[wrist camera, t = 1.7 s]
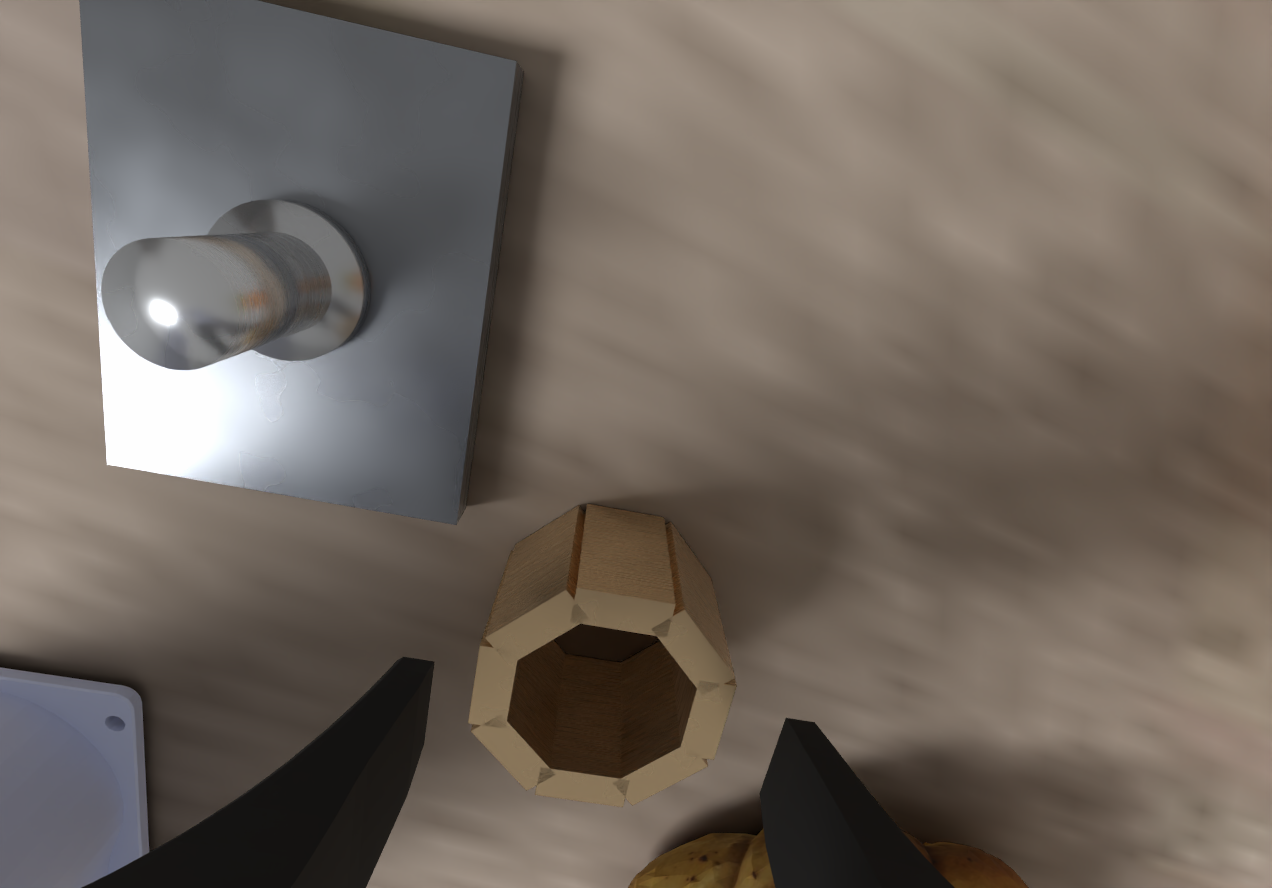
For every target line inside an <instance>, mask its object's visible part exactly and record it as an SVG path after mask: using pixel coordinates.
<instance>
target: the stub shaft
mask: <svg viewBox="0 0 1272 888" xmlns="http://www.w3.org/2000/svg"><path fill="white" fill-rule="evenodd" d="M79 2H80V19H81V35H82V52H83V69H84V85H85V102H86V119H87V135H88V152H89V169H90V185H91V202H92V219H93V236H94V252H95V269H96V286H97V302H98V319H99V336H100V352H101V369H102V386H103V402H104V419H105V436H106V452H107V464H109V465H114V466H120V467H126V468H132V469H137V470H143V471H149V472H155V473H160V474H166V475H172V476H178V477H183V478H189V479H195V480H201V481H206V482H212V483H218V484H224V485H229V486H235V487H241V488H247V489H252V490H258V491H264V492H270V493H275V494H281V495H287V496H293V497H298V498H304V499H310V500H316V501H321V502H327V503H333V504H339V505H344V506H350V507H356V508H362V509H367V510H373V511H379V512H385V513H390V514H396V515H402V516H408V517H413V518H419V519H425V520H431V521H436V522H442V523H448V524H454V525H457V523H458V521H459V519H460V518H461V516H462V514H463V512H464V510H465V508H466V503H467V496H468V488H469V481H470V473H471V466H472V458H473V451H474V443H475V435H476V428H477V420H478V413H479V405H480V398H481V390H482V383H483V375H484V368H485V360H486V353H487V345H488V338H489V330H490V323H491V315H492V308H493V300H494V293H495V285H496V278H497V270H498V263H499V255H500V248H501V240H502V233H503V225H504V218H505V210H506V203H507V195H508V188H509V180H510V173H511V165H512V158H513V150H514V143H515V135H516V128H517V120H518V113H519V105H520V98H521V90H522V83H523V75H524V71H523V70H522V68H521V67H520V65H519V64H518V63H517V61H514V60H509V59H505V58H501V57H497V56H492V55H488V54H484V53H480V52H475V51H471V50H467V49H462V48H458V47H454V46H450V45H445V44H441V43H437V42H433V41H428V40H424V39H420V38H416V37H411V36H407V35H403V34H399V33H394V32H390V31H386V30H381V29H377V28H373V27H369V26H364V25H360V24H356V23H352V22H347V21H343V20H339V19H335V18H330V17H326V16H322V15H317V14H313V13H309V12H305V11H300V10H296V9H292V8H288V7H283V6H279V5H275V4H271V3H266V2H262V1H258V0H79Z"/></svg>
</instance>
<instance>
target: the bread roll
mask: <svg viewBox="0 0 1272 888" xmlns="http://www.w3.org/2000/svg"><path fill="white" fill-rule="evenodd" d="M902 832H903V833H904V834H905V835H906V836H907V838H908V839H909V840H910V841H911V842H912V843H913V844H914V845H915V847H916V848H917V849H918V850H919V851H920V852H921V853H922V854H923V855H924V857H925V858H926V859H927V860H928V861H929V862H930V863H931V864H932V865H933V866H934V867H935V868H936V869H937V870H938V871H939V872H940V874H941V875H942V876H943V877H944V878H946V879H947V880H948V881H949V882H950V883H951V884H952V885H953V886H954V887H955V888H1029V887H1028V886H1027V885H1026V884H1025V883H1024V881H1023V880H1022V879H1021V878H1020V877H1019V876H1018V875H1017V874H1016V872H1015V871H1014V870H1013V869H1011V868H1010V867H1009V866H1008V865H1006V864H1005V863H1004V862H1003V861H1001V860H1000V859H998V858H996V857H994V856H992V855H989V854H987V853H985V852H984V851H982V850H980V849H976V848H973V847H969V846H966V845H961V844H955V843H949V842H937V843H933V844H930V843H926V842H925V843H924V844H922V843H921V842H920V841H919V840H918V839H916V838H915V837H913V836H911V835H910V834H908V833H906V832H904V831H902ZM628 888H775V884H774V880H773V876H772V872H771V867H770V863H769V859H768V854H767V850H766V844H765V836H764V829H762V830H761V831H760V833H759V834H758V835H757V836H756V835H751V834H745V833H711V834H708V835H706V836H703V837H701V838H699V839H696V840H694V841H691V842H689V843H686V844H684V845H681V846H679V847H677V848H675V849H673V850H671V851H669V852H667V853H665V854H662V855H660V856H659V857H658V858H656V859H655V860H653V861H652V862H650V863H649V864H648V865H647V866H646V867H645V868H644V869H643V870H642V871H641V872H640V873H638V874H637V875H636V876H635V878H634V879H633V880H632V882H631V883H630V885H629V887H628Z"/></svg>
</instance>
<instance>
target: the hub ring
mask: <svg viewBox="0 0 1272 888" xmlns="http://www.w3.org/2000/svg"><path fill="white" fill-rule="evenodd" d="M579 624H586V625H592V626H598V627H604V628H610V629H616V630H622V631H628V632H634V633H641V634H647V635H653V636H657V637H658V638H659V640H660V641H659V642H657V643H655V644H653V645H652V646H650V647H648V648H646V649H644V650H643V651H641V652H639V653H637V654H636V655H634V656H632V657H630V658H628V659H627V660H625V661H623V662H621V663H619V662H613V661H607V660H601V659H594V658H588V657H582V656H576V655H569V654H565V653H564V652H563V651H562V649H561V648H560V647H559V646H558V645H557V643H556V642H555V641H554V640H553V639H555V638H557V637H558V636H560V635H562V634H563V633H565V632H567V631H569V630H570V629H572V628H574V627H576V626H577V625H579ZM736 687H737V686H736V682H735V675H734V671H733V667H732V663H731V659H730V655H729V650H728V646H727V642H726V638H725V634H724V630H723V626H722V621H721V617H720V613H719V609H718V605H717V601H716V597H715V592H714V588H713V584H712V580H711V577H710V576H709V575H708V573H707V572H706V570H705V569H704V567H703V566H702V565H701V563H700V562H699V560H698V559H697V558H696V556H695V555H694V553H693V552H692V551H691V549H690V548H689V546H688V545H687V544H686V542H685V541H684V539H683V538H682V537H681V535H680V534H679V532H678V531H677V530H676V528H675V527H674V525H673V524H672V523H671V522H669V523H668V524H666V525H665V522H664V517H659V516H654V515H648V514H643V513H637V512H631V511H626V510H620V509H615V508H609V507H604V506H598V505H592V504H587V507H586V512H585V513H584V511H583V510H582V509H581V507H580V506H579V505H578V506H577V507H575V508H573V509H572V510H570V511H569V512H567V513H565V514H564V515H562V516H560V517H559V518H557V519H556V520H554V521H552V522H551V523H549V524H548V525H546V526H544V527H543V528H541V529H540V530H538V531H536V532H535V533H533V534H531V535H530V536H528V537H527V538H525V539H523V540H522V541H520V542H519V543H517V544H516V545H515V548H514V551H511V553H510V556H509V559H508V562H507V565H506V568H505V571H504V574H503V577H502V580H501V583H500V586H499V589H498V592H497V595H496V598H495V601H494V604H493V607H492V610H491V613H490V616H489V619H488V622H487V625H486V628H485V631H484V634H483V637H482V640H481V643H480V647H479V654H478V661H477V667H476V674H475V680H474V687H473V693H472V700H471V707H470V713H469V720H468V723H469V724H473V725H472V729H471V732H472V733H473V734H474V735H475V736H476V737H477V739H478V740H479V741H480V742H481V743H482V744H483V745H484V746H485V747H486V748H487V749H488V750H489V751H490V752H491V753H492V754H493V756H494V757H495V758H496V759H497V760H498V761H499V762H500V763H501V764H502V765H503V766H504V767H505V768H506V769H507V770H508V771H509V773H510V774H511V775H512V776H513V777H514V778H515V779H516V780H517V781H518V782H519V783H520V784H521V785H522V786H523V787H524V789H525V790H526V791H527V790H529V789H531V788H532V787H534V786H536V791H535V795H540V796H547V797H554V798H561V799H568V800H575V801H582V802H589V803H597V804H604V805H611V806H618V807H623V805H624V801H625V798H626V799H627V800H628V801H629V802H630V804H631V805H632V806H633V805H635V804H636V803H638V802H640V801H642V800H644V799H646V798H648V797H650V796H652V795H654V794H656V793H658V792H660V791H662V790H663V789H665V788H667V787H669V786H671V785H673V784H675V783H677V782H679V781H681V780H683V779H685V778H687V777H689V776H690V775H692V774H694V773H696V772H698V771H700V770H702V769H704V768H706V767H708V764H707V759H711V760H714V758H715V754H716V751H717V748H718V745H719V742H720V738H721V735H722V732H723V729H724V725H725V722H726V719H727V716H728V713H729V709H730V706H731V703H732V700H733V696H734V693H735V690H736Z"/></svg>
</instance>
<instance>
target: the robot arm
mask: <svg viewBox="0 0 1272 888" xmlns="http://www.w3.org/2000/svg"><path fill="white" fill-rule="evenodd" d="M433 669H434V662H433V661H426V660H420V659H414V658H408V657H402V658H401V659H399V660H397V661H396V662H395V663H394V665H393V666H392V667H391V668H390V669H389V670H388V671H387V672H386V673H385V674H384V675H383V676H382V677H381V678H380V679H379V680H378V681H377V682H376V684H375V685H374V686H373V687H372V688H371V689H370V690H368V691H367V692H366V693H365V694H364V695H363V696H362V697H361V698H360V699H359V700H358V701H357V702H356V703H355V704H354V705H353V706H352V707H351V708H350V709H349V710H347V711H346V712H345V713H344V714H343V715H342V716H341V717H340V718H339V719H338V720H337V721H335V722H334V723H333V724H332V725H331V726H330V727H329V728H328V729H327V730H325V731H324V732H323V733H322V734H321V735H320V736H318V737H317V738H316V739H315V740H313V741H312V742H311V743H310V744H309V745H307V746H306V747H305V748H304V749H303V750H301V751H300V752H299V753H298V754H296V755H295V756H294V757H293V758H292V759H290V760H289V761H288V762H287V763H285V764H284V765H283V766H281V767H280V768H279V769H277V770H276V771H275V772H274V773H272V774H271V775H270V776H268V777H267V778H265V779H264V780H263V781H261V782H260V783H259V784H257V785H256V786H254V787H253V788H252V789H250V790H249V791H247V792H246V793H244V794H243V795H242V796H240V797H239V798H237V799H236V800H234V801H233V802H231V803H230V804H228V805H227V806H225V807H224V808H222V809H220V810H219V811H217V812H216V813H214V814H213V815H211V816H210V817H208V818H207V819H205V820H204V821H202V822H200V823H199V824H197V825H196V826H194V827H192V828H191V829H189V830H187V831H186V832H184V833H182V834H181V835H179V836H177V837H176V838H174V839H172V840H171V841H169V842H167V843H165V844H163V845H161V846H160V847H158V848H156V849H154V850H152V851H151V852H149V837H148V816H147V795H146V774H145V753H144V732H143V711H142V701H141V697H140V696H139V694H138V693H137V692H136V691H135V690H133V689H132V688H130V687H127V686H123V685H116V684H109V683H102V682H96V681H89V680H82V679H75V678H68V677H62V676H55V675H48V674H41V673H34V672H28V671H21V670H14V669H7V668H1V667H0V888H366V886H367V884H368V882H369V880H370V877H371V875H372V873H373V871H374V868H375V866H376V864H377V862H378V859H379V857H380V855H381V853H382V851H383V848H384V846H385V844H386V842H387V839H388V837H389V835H390V833H391V830H392V828H393V826H394V824H395V821H396V819H397V817H398V815H399V812H400V810H401V808H402V806H403V803H404V801H405V799H406V796H407V794H408V791H409V788H410V785H411V782H412V779H413V776H414V773H415V770H416V767H417V764H418V761H419V758H420V754H421V751H422V748H423V745H424V740H425V732H426V724H427V716H428V708H429V700H430V693H431V685H432V677H433ZM120 718H121V719H120ZM760 801H761V811H762V821H763V829H764V836H765V844H766V850H767V854H768V859H769V863H770V867H771V872H772V876H773V880H774V884H775V888H955V887H954V886H953V885H952V884H951V883H950V882H949V881H948V880H947V879H946V878H944V877H943V876H942V875H941V874H940V872H939V871H938V870H937V869H936V868H935V867H934V866H933V865H932V864H931V863H930V862H929V861H928V860H927V859H926V858H925V857H924V855H923V854H922V853H921V852H920V851H919V850H918V849H917V848H916V847H915V845H914V844H913V843H912V842H911V841H910V840H909V839H908V838H907V836H906V835H905V834H904V833H903V832H902V831H901V830H900V829H899V827H898V826H897V825H896V824H895V823H894V821H893V820H892V819H891V818H890V817H889V816H888V814H887V813H886V812H885V811H884V810H883V808H882V807H881V806H880V805H879V804H878V802H877V801H876V800H875V799H874V797H873V796H872V795H871V794H870V792H869V791H868V790H867V789H866V787H865V786H864V785H863V784H862V782H861V781H860V780H859V779H858V777H857V776H856V775H855V773H854V772H853V771H852V770H851V768H850V767H849V766H848V764H847V763H846V762H845V761H844V759H843V758H842V757H841V755H840V754H839V753H838V752H837V750H836V749H835V748H834V746H833V745H832V744H831V742H830V741H829V740H828V739H827V737H826V736H825V735H824V734H823V732H822V731H821V730H820V729H819V727H818V726H817V725H816V724H815V722H809V721H802V720H796V719H790V718H786V719H785V722H784V725H783V728H782V731H781V734H780V736H779V739H778V742H777V745H776V748H775V751H774V754H773V757H772V759H771V762H770V765H769V768H768V771H767V774H766V777H765V780H764V782H763V785H762V788H761V791H760Z"/></svg>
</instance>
